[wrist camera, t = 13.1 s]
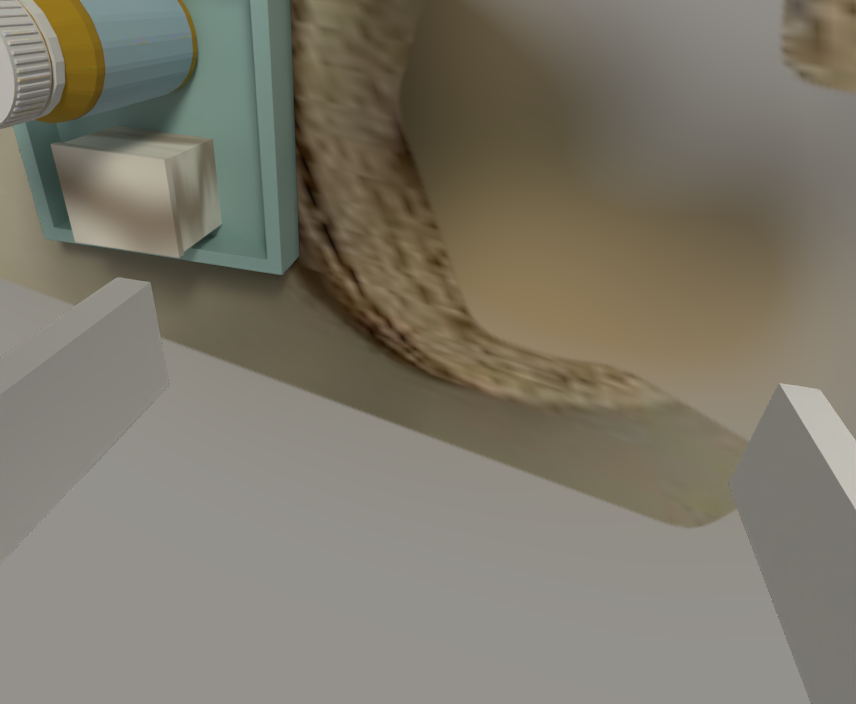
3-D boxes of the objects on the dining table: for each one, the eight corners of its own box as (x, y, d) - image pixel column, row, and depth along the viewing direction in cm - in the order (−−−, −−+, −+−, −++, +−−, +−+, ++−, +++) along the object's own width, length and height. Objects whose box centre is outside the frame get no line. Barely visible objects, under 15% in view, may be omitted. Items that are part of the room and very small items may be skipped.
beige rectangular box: (114, 124, 40) (50, 144, 35) (213, 137, 39) (164, 159, 34) (131, 211, 43) (75, 242, 38) (223, 225, 43) (179, 258, 37)
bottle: (77, 32, 37) (-159, 53, 25) (127, -64, 34) (-117, -97, 21) (168, 116, 39) (-9, 176, 26) (223, 33, 36) (51, 55, 23)
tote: (-3, -100, 35) (-53, -108, 32) (287, -72, 33) (263, -78, 30) (76, 222, 46) (44, 238, 43) (299, 256, 44) (281, 274, 41)
